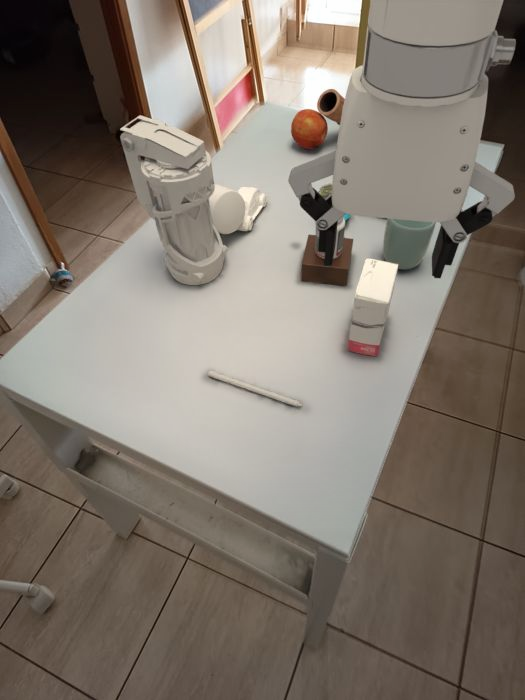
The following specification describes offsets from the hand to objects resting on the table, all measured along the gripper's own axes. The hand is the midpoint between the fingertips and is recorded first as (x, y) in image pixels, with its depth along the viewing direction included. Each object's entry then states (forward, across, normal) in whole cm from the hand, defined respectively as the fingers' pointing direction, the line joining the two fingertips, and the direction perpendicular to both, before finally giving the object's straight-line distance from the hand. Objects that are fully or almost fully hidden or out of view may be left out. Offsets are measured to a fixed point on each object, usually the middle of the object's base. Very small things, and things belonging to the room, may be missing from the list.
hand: (381, 262), depth 44 cm
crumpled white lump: (+28, +25, -43) cm, 57 cm away
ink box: (+28, -1, -16) cm, 33 cm away
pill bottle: (+24, +7, -30) cm, 39 cm away
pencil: (+28, +14, -2) cm, 32 cm away
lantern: (+28, +32, -27) cm, 50 cm away
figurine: (+28, +9, -41) cm, 51 cm away
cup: (+28, -6, -34) cm, 45 cm away
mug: (+23, +26, -33) cm, 48 cm away
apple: (+28, +16, -71) cm, 78 cm away
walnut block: (+28, +7, -30) cm, 42 cm away
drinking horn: (+27, +5, -81) cm, 85 cm away
